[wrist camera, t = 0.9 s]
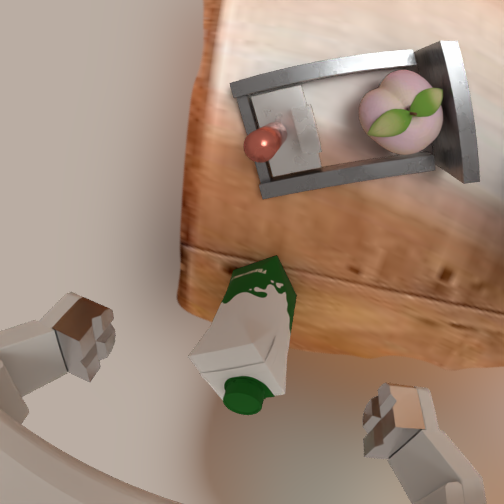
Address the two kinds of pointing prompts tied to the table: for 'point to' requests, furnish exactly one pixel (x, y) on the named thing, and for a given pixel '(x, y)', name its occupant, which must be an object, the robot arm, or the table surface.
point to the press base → (444, 147)
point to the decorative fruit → (402, 113)
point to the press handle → (284, 132)
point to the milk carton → (249, 337)
